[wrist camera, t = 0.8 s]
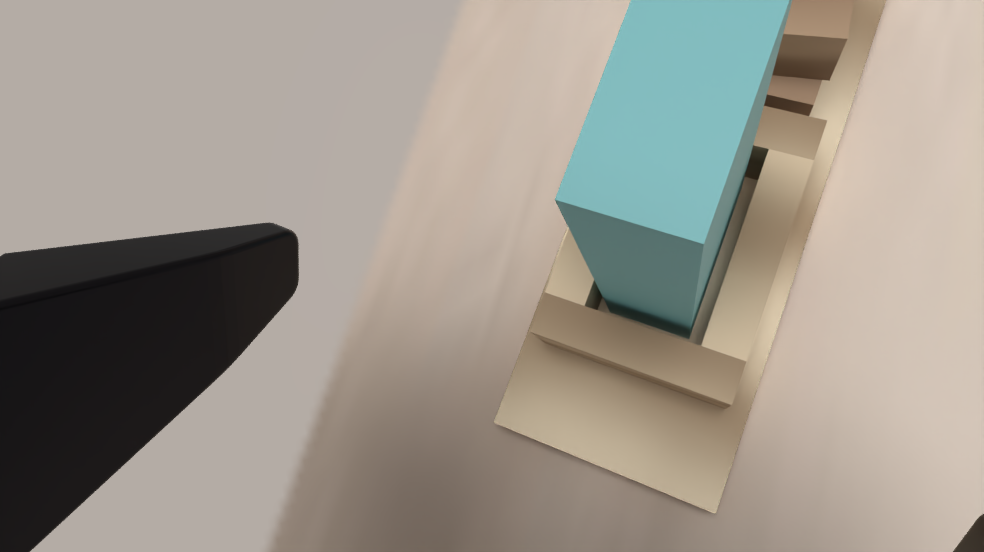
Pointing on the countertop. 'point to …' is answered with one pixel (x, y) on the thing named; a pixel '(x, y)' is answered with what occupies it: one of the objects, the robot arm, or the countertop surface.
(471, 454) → the countertop surface
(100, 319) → the robot arm
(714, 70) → the teal panel
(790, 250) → the rack
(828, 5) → the offcut stack
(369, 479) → the countertop surface
